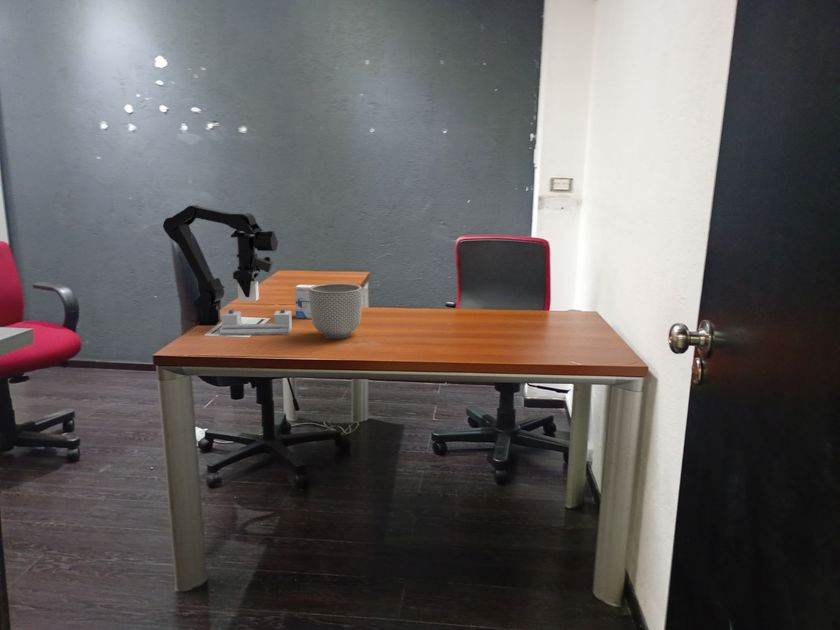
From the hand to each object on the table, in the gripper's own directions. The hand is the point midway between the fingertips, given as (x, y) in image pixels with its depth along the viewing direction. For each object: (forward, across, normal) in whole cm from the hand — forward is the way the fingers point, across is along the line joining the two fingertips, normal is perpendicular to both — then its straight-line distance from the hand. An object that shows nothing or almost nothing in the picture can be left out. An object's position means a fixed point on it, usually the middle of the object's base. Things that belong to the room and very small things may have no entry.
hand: (249, 295), depth 214 cm
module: (+1, 0, 0) cm, 1 cm away
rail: (+10, -12, -4) cm, 17 cm away
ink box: (+11, +12, -19) cm, 25 cm away
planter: (+11, -16, -31) cm, 37 cm away
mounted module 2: (+10, -8, -12) cm, 18 cm away
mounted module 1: (+10, -8, +5) cm, 14 cm away
